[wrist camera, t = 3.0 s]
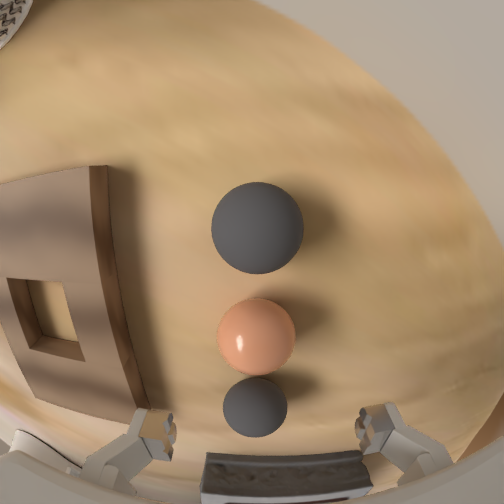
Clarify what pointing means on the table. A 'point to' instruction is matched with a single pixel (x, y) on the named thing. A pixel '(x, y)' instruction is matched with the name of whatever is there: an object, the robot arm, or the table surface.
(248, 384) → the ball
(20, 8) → the black white tall cylinder
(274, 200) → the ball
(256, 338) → the terracotta ball
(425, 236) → the table surface
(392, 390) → the table surface
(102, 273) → the walnut board
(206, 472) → the bible
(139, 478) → the table surface
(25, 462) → the robot arm
